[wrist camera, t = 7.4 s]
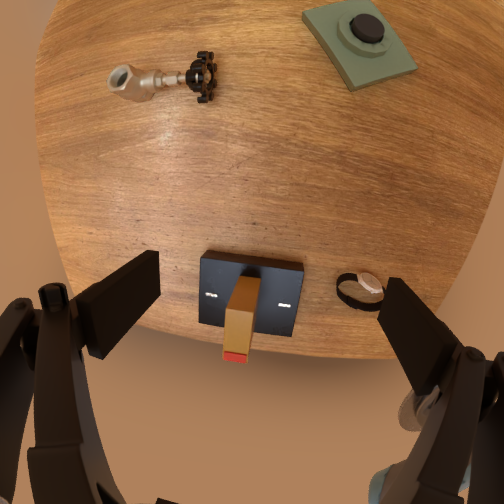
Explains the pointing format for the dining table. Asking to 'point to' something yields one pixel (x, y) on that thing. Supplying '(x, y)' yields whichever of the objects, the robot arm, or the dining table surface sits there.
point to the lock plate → (270, 295)
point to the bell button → (367, 28)
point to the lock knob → (241, 319)
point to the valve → (164, 80)
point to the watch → (368, 283)
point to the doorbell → (358, 44)
